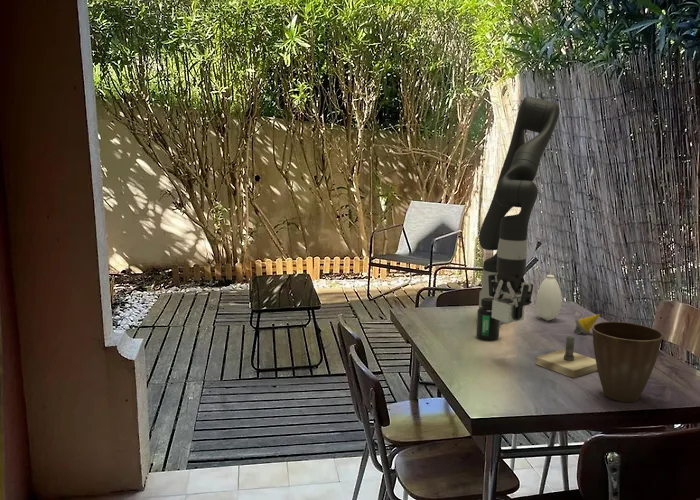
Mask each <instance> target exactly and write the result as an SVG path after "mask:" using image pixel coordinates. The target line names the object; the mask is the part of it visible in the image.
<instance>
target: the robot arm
mask: <svg viewBox="0 0 700 500" xmlns="http://www.w3.org/2000/svg"><path fill="white" fill-rule="evenodd" d="M559 115H560V106H559V105H558V103H555V102H554V101H553V102H552V101H550V100H546V99H541V98H537V97H532V96H526V97H524V98H523V100H522V101H521V103H520V105H519V109H518V112H517V116H516V119H515V123H514V128H513V131H512V135H511V139H510V142H509V143H510V144H509V146H508V150H507V152H506V156H505V159H504V161H503V164H502V167H501V170H500V173H499V177H498V180H497V184H496V187H495V190H494V193H493V197H492V200H491V203H490V205H489V207H488V210H487V212H486V214H485V217H484V218H483V222H482V224H481V227H480V230H479V235H478V243H479V245H480V247H481V248H482V249H483V250H484V251H485V250H486V251H496V252H495V254H494V255H492V256H491V257H489V258H487V259H485V260H484V261H483V263H482V279H481V280H482V281H481V282H482V286H481V290H479V297H478V298H479V300H478V309H479V308H480V307H482V306H481V299H482V298H494V299H499V298H504V297H510V298H512V299H513V301H514V304H515V307H514V320H520V319H521V318H522V312H523V306H525V307H527V306H529V305H530V304H531V299H532V294H533V290H534V284H533V283H527V282H525V279H524V276H525V274H526V271H527V256H528V229H529V223H530V217H531V215H532V212H533V209H534V206H535V204H536V201H537V198H538V195H539V194H538V193H539V192H538V191H539V190H538V186H537V184H536V183H535V182H534V180H535V179H536V177H537V172H538V169H539V165H540V163H541V159H542V157H543V155H544V152H545V150H546V148H547V147H548V143H549V142H550V140H551V137H552V135H553V133H554V131H555V127H556V126H557V122H558V119H559V117H560V116H559ZM526 130H527V131H530V132H534V133H538V134H537V135H535V137H532V138H531V139H529V140H527V141H526V142H525V131H526ZM513 208H520V211H519V213H517V214H513V215H510V214H509V215H507V214H508V213H509V212H510V210H512V209H513ZM518 300H519V301H518ZM500 324H502V325H503V324H507V323H506V322H503V321H500Z"/></svg>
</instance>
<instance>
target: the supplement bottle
mask: <svg viewBox="0 0 700 500" xmlns="http://www.w3.org/2000/svg"><path fill="white" fill-rule="evenodd" d="M493 300H494V298H482V299H481V306H482V307H480V308H479V307H478V309H477V310H476V329H475V330H476V331H475V333H476V334H475V335H476V338H477V339H479V340H481V341H484V342H485V341H487V342H495V341H498V340H499V339H500V330H501V329H500V327H501V325H500V320H497V319H494V318H492V301H493Z"/></svg>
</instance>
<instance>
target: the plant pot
mask: <svg viewBox="0 0 700 500" xmlns="http://www.w3.org/2000/svg"><path fill="white" fill-rule="evenodd" d="M591 328H592V343H593V352H594V357H595V358H594V359H596V364H597V369H598V371H597V373H598V374H597V375H598V377H599V381H600V384H601V387H602V390H603V394H604V396H605V397H607V398H608V399H611V400H614V401H616V402H621V403H622V402H623V403H633V402H637V401H638V400H639V399H640V398H641V396H642V393H643V392H644V391H645V390H644V389H645V388H646V386H647V384H648V382H649V379H650V378H651V376H652V372H653V370H654V368H655V365H656V362H657V359H658V356H659V352H660V350H661V349H660V348H661V345H662V340H663V338H664V334H663V333H662V332H661V331H659V330H658V329H656V328H653V327H649V326H645V325H642V324H636V323H633V322H632V323H631V322H624V321H623V322H622V321H602V322H597V323H593V325H592V327H591Z"/></svg>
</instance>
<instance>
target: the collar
mask: <svg viewBox="0 0 700 500" xmlns="http://www.w3.org/2000/svg"><path fill="white" fill-rule="evenodd" d="M518 301H519V299H518ZM514 307H515V304H514V301H513V299H512V298H511V296H510V297H504V298H499V299H494V300H493V301H492V318H494V319H497V320H500V321H503V322H506V323H505V324H510V323H511V324H512V323H516V322H521V321H525V311H526V310H525V308H526V306H523V312H522V318H521V319H520V320H514Z"/></svg>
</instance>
